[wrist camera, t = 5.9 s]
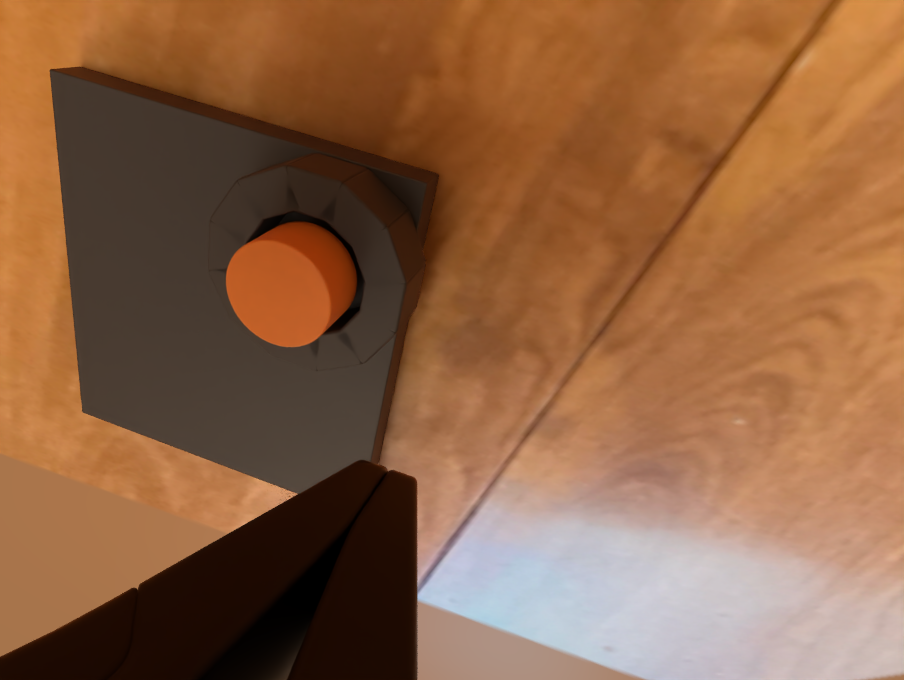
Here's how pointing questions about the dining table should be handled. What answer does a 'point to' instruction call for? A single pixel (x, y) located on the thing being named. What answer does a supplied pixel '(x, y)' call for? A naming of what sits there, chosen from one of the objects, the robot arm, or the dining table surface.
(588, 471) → the dining table surface
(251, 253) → the button
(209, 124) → the dark grey flat block
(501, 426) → the dining table surface
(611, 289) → the dining table surface
